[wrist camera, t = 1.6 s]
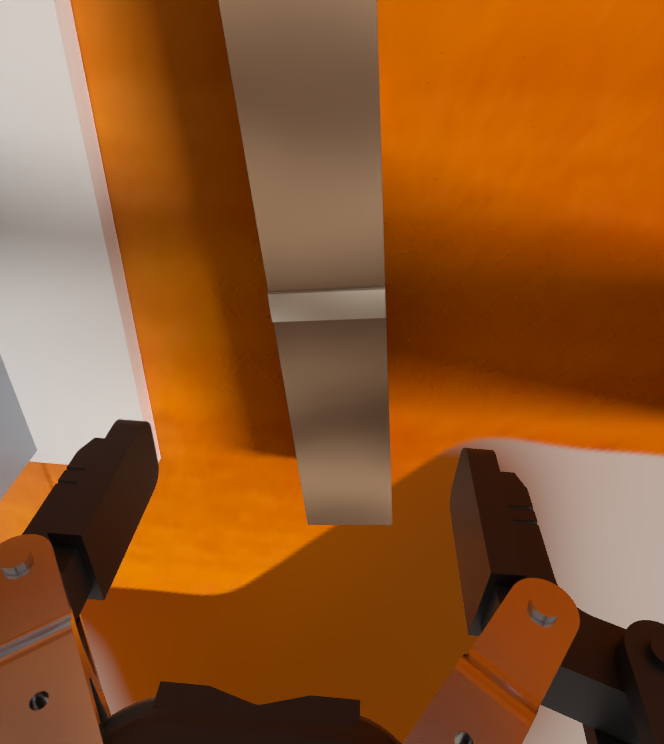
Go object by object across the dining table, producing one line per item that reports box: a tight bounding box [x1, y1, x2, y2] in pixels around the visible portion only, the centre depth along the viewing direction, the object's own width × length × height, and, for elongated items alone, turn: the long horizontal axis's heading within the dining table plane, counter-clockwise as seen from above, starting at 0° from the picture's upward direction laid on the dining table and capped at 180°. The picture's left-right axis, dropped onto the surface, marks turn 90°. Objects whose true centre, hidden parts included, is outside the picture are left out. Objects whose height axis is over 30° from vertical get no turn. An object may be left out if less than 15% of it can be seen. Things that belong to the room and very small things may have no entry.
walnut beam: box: [218, 0, 392, 525], centre depth 22 cm, size 26×4×5 cm, turn 5°
